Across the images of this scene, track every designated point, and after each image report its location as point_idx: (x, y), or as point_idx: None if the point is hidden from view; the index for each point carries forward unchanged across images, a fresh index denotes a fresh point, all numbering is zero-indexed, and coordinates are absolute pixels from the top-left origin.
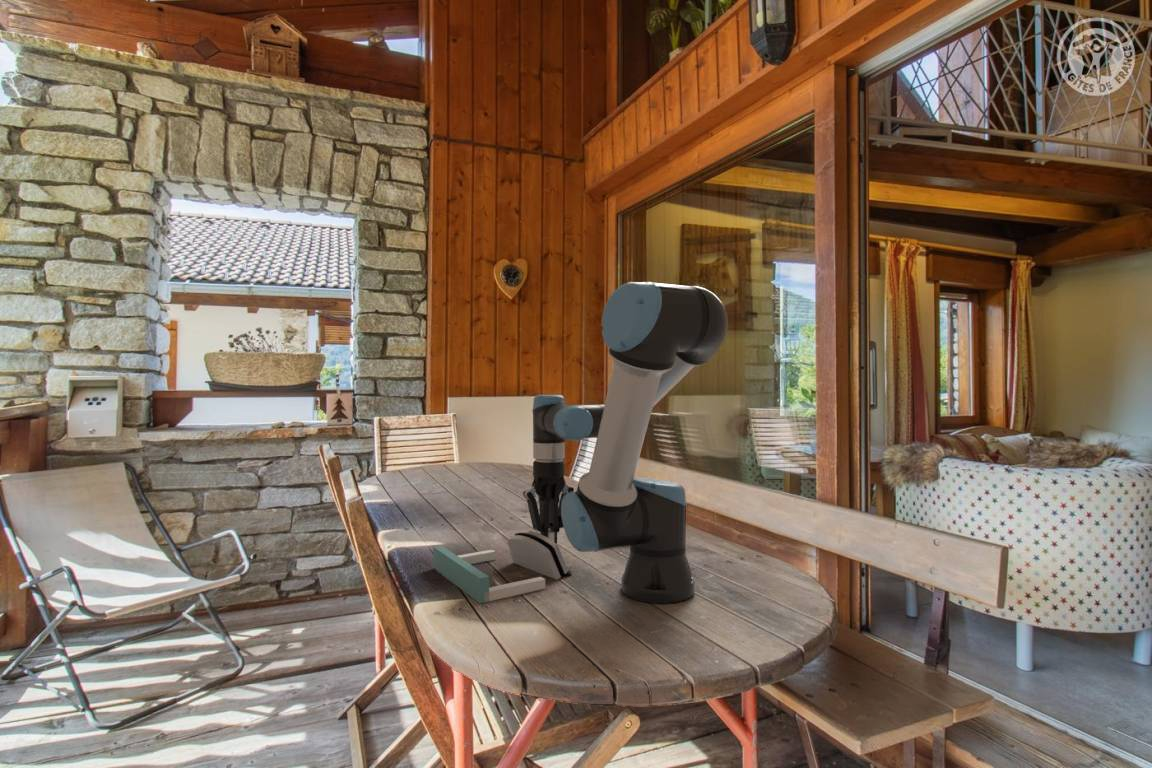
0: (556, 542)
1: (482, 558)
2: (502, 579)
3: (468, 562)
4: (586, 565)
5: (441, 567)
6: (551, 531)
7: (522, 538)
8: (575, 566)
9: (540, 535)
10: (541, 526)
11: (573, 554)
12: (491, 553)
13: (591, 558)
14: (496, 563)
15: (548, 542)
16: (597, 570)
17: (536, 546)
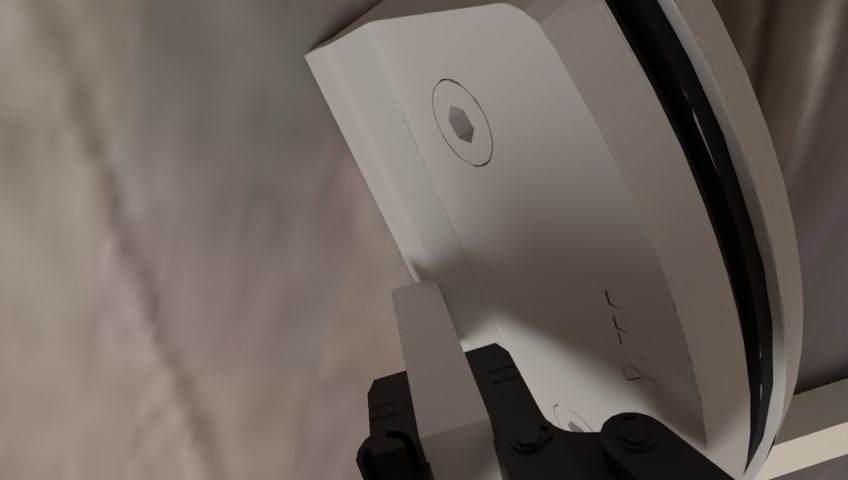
0: (375, 390)
1: None
2: (768, 114)
3: (812, 400)
4: (153, 228)
5: None
6: (440, 473)
7: (796, 321)
8: (243, 228)
9: (686, 259)
10: (631, 465)
11: (205, 453)
12: None
13: (88, 361)
14: None
15: (634, 65)
16: (78, 87)
17: (745, 79)
